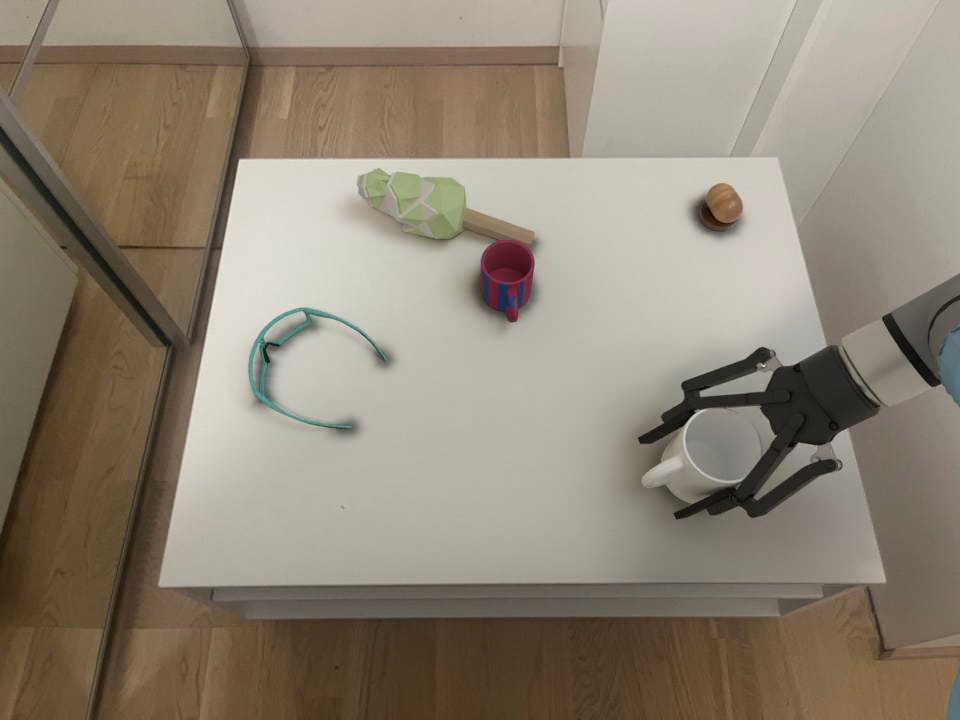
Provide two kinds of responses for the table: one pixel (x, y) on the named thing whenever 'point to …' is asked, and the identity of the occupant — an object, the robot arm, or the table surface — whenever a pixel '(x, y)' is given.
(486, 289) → the cup
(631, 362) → the table surface
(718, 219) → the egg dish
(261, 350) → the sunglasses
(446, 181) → the decorative object
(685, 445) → the mug
